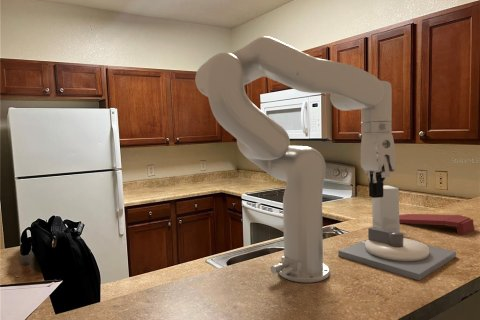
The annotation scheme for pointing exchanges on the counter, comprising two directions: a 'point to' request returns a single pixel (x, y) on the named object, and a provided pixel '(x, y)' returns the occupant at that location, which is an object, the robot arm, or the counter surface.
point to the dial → (394, 246)
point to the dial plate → (400, 267)
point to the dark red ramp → (440, 221)
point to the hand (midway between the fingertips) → (376, 196)
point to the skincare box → (386, 210)
